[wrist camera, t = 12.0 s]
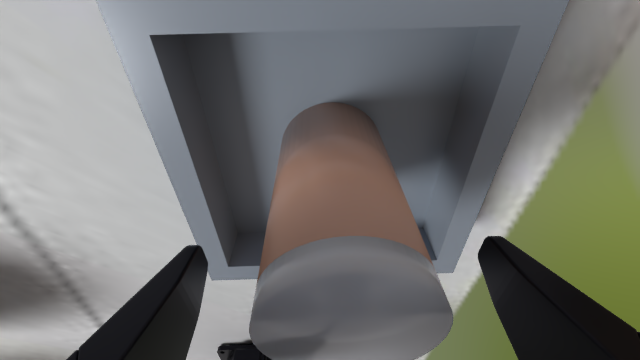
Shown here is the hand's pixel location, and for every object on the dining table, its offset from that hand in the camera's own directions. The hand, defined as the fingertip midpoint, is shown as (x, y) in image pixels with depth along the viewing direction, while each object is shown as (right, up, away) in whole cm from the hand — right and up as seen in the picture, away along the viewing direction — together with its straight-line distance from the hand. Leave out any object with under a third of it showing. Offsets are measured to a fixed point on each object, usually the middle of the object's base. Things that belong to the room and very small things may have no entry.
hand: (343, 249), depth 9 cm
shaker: (0, +4, +5) cm, 6 cm away
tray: (0, +4, +6) cm, 7 cm away
